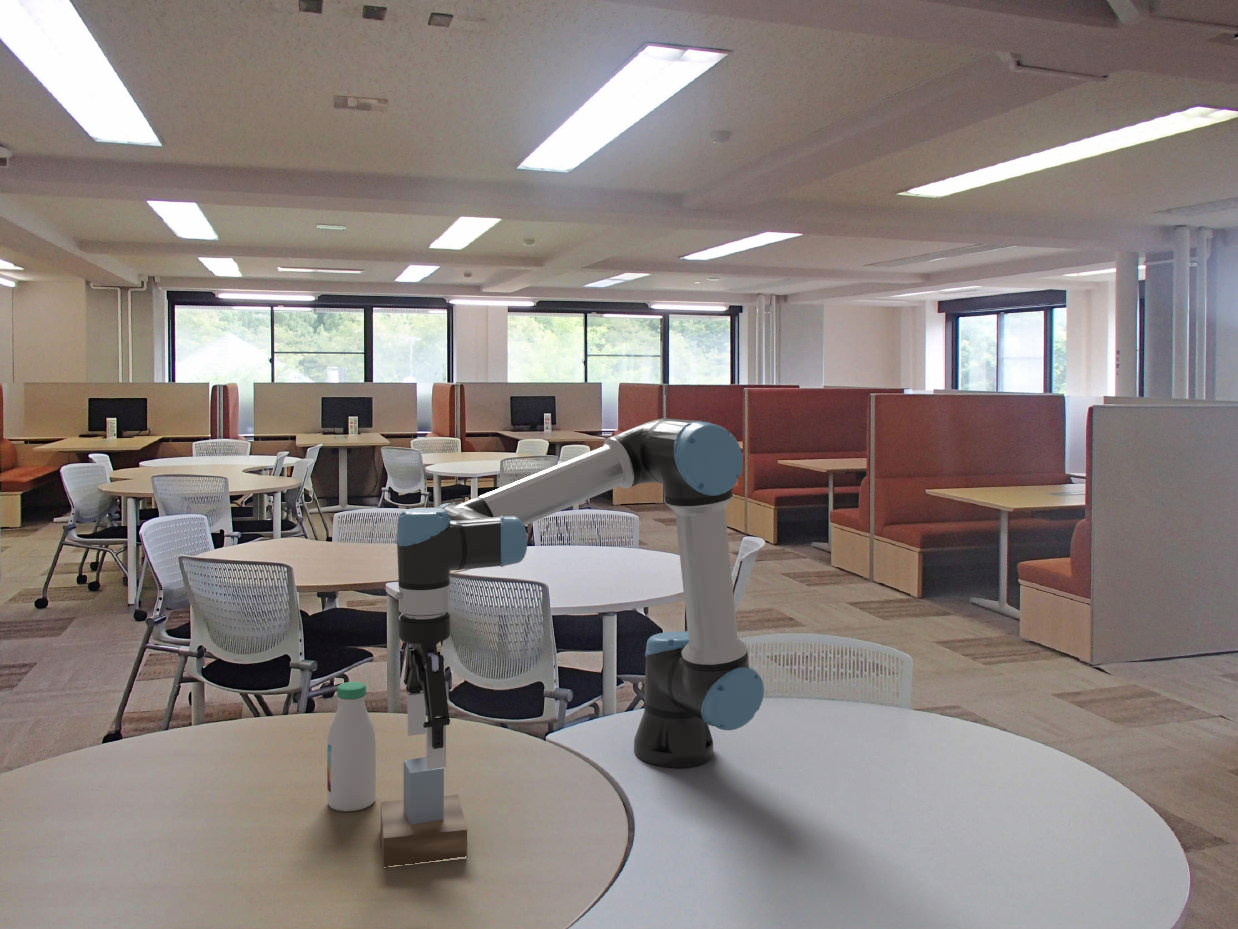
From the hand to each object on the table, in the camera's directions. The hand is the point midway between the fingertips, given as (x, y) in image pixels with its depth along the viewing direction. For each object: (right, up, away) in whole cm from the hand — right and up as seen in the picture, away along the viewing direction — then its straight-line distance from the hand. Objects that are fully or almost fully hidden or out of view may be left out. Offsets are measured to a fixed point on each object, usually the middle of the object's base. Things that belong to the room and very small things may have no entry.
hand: (426, 750), depth 148 cm
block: (-1, -10, +1) cm, 10 cm away
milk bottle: (-15, -13, +15) cm, 25 cm away
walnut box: (-1, -15, +1) cm, 15 cm away
